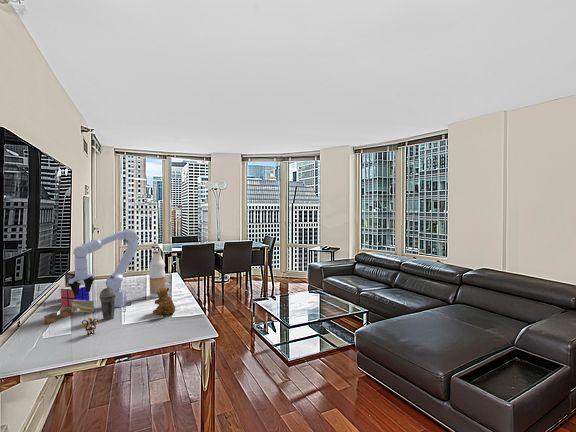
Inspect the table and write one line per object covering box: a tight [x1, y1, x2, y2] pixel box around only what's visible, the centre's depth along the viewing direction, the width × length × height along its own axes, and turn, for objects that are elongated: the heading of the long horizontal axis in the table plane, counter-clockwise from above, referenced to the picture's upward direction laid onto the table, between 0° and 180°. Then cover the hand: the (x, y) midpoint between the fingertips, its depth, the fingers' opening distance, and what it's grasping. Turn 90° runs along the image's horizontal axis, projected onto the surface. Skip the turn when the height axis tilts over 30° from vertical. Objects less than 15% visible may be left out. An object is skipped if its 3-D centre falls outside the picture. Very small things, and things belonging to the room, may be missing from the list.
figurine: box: [81, 316, 100, 335], centre depth 145 cm, size 5×5×8 cm
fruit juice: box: [148, 250, 167, 299], centre depth 204 cm, size 9×9×28 cm
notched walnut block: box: [43, 306, 73, 325], centre depth 165 cm, size 14×2×4 cm, turn 168°
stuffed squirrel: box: [152, 287, 176, 316], centre depth 172 cm, size 10×14×13 cm
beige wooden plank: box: [72, 300, 95, 314], centre depth 176 cm, size 2×12×6 cm, turn 78°
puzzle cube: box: [60, 284, 90, 308], centre depth 190 cm, size 10×10×10 cm
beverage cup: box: [99, 278, 116, 321], centre depth 165 cm, size 7×7×20 cm
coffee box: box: [64, 270, 85, 288], centre depth 202 cm, size 9×6×16 cm
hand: (82, 293), depth 176 cm, fingers open, 7 cm apart
